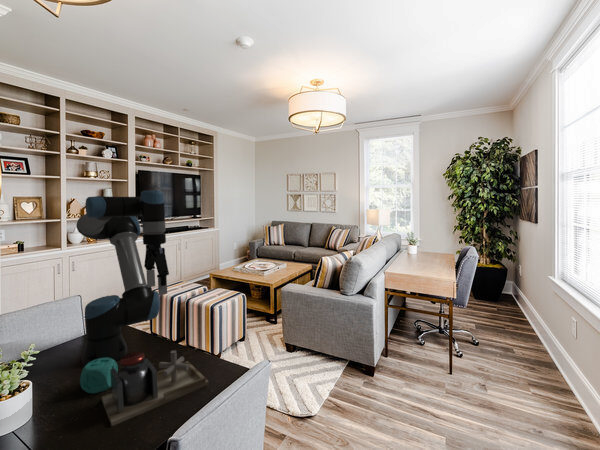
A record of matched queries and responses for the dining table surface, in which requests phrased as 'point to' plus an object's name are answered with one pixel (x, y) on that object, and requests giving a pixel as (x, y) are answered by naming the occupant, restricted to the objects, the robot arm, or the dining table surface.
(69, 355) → the dining table surface
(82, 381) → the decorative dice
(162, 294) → the robot arm
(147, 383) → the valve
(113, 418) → the jig
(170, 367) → the pipe connector
